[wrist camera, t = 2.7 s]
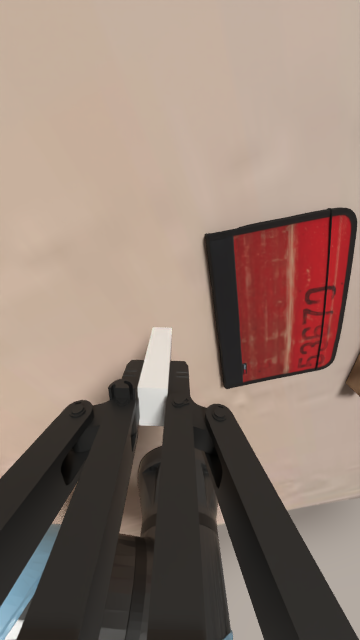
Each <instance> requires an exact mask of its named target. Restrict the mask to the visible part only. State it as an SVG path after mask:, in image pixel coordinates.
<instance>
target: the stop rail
mask: <svg viewBox="0 0 360 640" xmlns="http://www.w3.org/2000/svg"><path fill="white" fill-rule="evenodd" d="M346 384H347V385H348V386H349V387H350V388H351V389H352V390H353V391H355V392H356V393H357V394H358V395H359V396H360V354H359V356H358V358H357V360H356V362H355V364H354V366H353V369H352V371H351V373H350V375H349V377H348V379H347V381H346Z"/></svg>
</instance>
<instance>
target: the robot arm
mask: <svg viewBox="0 0 360 640" xmlns="http://www.w3.org/2000/svg"><path fill="white" fill-rule="evenodd" d="M171 344H172V328H161V327H153V329H152V333H151V337H150V341H149V344H148V348H147V352H146V356H145V360H131V361H130V362H129V363H128V364H127V366H126V369H125V371H124V374H123V377H122V379H119V380H116V381H114V382H113V383H111V384H110V386H109V387H108V389H109V397H110V400H109V401H107V402H105V403H102V404H98V405H94V406H92V404H91V403H90V402H89V401H87V400H80V401H76V402H74V403H72V404H70V405H69V406H67V407H66V408H65V409H64V410H63V411H62V413H61V414H60V415H59V416H58V417H57V418H56V419H55V420H54V421H53V422H52V423H51V424H50V426H49V427H48V428H47V429H46V430H45V431H44V432H43V433H42V434H41V435H40V436H39V437H38V438H37V440H36V441H35V442H34V443H33V444H32V445H31V446H30V447H29V448H28V449H27V450H26V451H25V453H24V454H23V455H22V456H21V457H20V458H19V459H18V460H17V461H16V462H15V463H14V464H13V466H12V467H11V468H10V469H9V470H8V471H7V472H6V473H5V474H4V475H3V476H2V477H1V479H0V640H233V633H232V630H231V628H230V621H229V613H228V606H227V598H226V590H225V583H224V575H223V568H222V561H221V553H220V547H219V539H218V532H217V523H216V516H217V507H218V503H219V506H220V509H221V512H222V515H223V518H224V521H225V524H226V526H227V530H228V533H229V536H230V539H231V541H232V545H233V548H234V551H235V553H236V557H237V560H238V562H239V566H240V569H241V572H242V575H243V578H244V580H245V584H246V587H247V589H248V593H249V595H250V599H251V601H252V604H253V608H254V611H255V613H256V617H257V619H258V623H259V626H260V628H261V631H262V634H263V638H264V640H359V639H358V637H357V636H356V633H355V632H354V630H353V629H352V627H351V625H350V623H349V621H348V619H347V617H346V616H345V614H344V612H343V610H342V608H341V607H340V605H339V603H338V601H337V600H336V598H335V596H334V594H333V592H332V591H331V589H330V587H329V585H328V583H327V582H326V580H325V578H324V576H323V574H322V573H321V571H320V569H319V567H318V566H317V564H316V562H315V560H314V559H313V557H312V555H311V553H310V551H309V550H308V548H307V546H306V544H305V542H304V541H303V539H302V537H301V535H300V534H299V532H298V530H297V528H296V526H295V524H294V523H293V521H292V519H291V517H290V515H289V514H288V512H287V510H286V508H285V507H284V505H283V503H282V501H281V499H280V498H279V496H278V494H277V492H276V490H275V489H274V487H273V485H272V483H271V482H270V480H269V478H268V476H267V474H266V473H265V471H264V469H263V467H262V465H261V464H260V462H259V460H258V458H257V456H256V455H255V453H254V451H253V449H252V448H251V446H250V444H249V442H248V440H247V439H246V437H245V435H244V433H243V431H242V430H241V428H240V426H239V424H238V423H237V421H236V419H235V417H234V415H233V414H232V412H231V411H230V410H229V408H227V407H226V406H224V405H221V404H213V405H210V406H209V407H208V408H205V407H202V406H200V405H197V404H196V403H194V401H193V400H192V399H191V397H190V387H189V370H188V365H187V364H186V362H185V361H171ZM138 424H139V425H142V426H164V431H163V444H162V447H159V448H156V449H154V450H152V451H151V452H149V453H148V454H147V455H146V456H145V457H144V458H143V459H142V461H141V463H140V467H139V474H138V488H139V496H140V504H141V513H142V528H141V537H137V536H132V535H126V534H120V533H119V531H120V526H121V521H122V515H123V510H124V505H125V500H126V495H127V489H128V484H129V479H130V474H131V469H132V464H133V458H134V453H135V448H136V443H137V438H138ZM78 480H79V481H78ZM77 482H78V483H77ZM76 483H77V486H76V488H75V491H74V493H73V496H72V499H71V501H70V504H69V506H68V509H67V511H66V514H65V516H64V519H63V522H62V524H61V525H60V524H52V522H53V521H54V519H55V517H56V516H57V514H58V513H59V511H60V509H61V508H62V506H63V504H64V503H65V501H66V500H67V498H68V496H69V495H70V493H71V491H72V490H73V488H74V486H75V485H76Z"/></svg>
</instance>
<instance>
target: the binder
mask: <svg viewBox="0 0 360 640" xmlns="http://www.w3.org/2000/svg"><path fill="white" fill-rule="evenodd" d="M356 231H357V218H356V215H355V213H354V212H353V211H352V210H351V209H348V208H332V209H331V208H328V209H326V210H321V211H315V212H309V213H304V214H300V215H295V216H291V217H286V218H281V219H275V220H270V221H265V222H259V223H255V224H250V225H246V226H242V227H239V228H237V229H232V230H227V231H222V232H216V233H211V234H210V233H209V234H205V239H206V247H207V254H208V263H209V272H210V279H211V286H212V293H213V302H214V310H215V318H216V326H217V333H218V339H219V348H220V357H221V365H222V372H223V383H224V387H225V388H226V389H230V388H233V387H238V386H243V385H248V384H252V383H257V382H262V381H266V380H271V379H276V378H282V377H287V376H292V375H297V374H302V373H306V372H312V371H317V370H321V369H324V368H326V367H328V366H329V365H330V364H332V362H333V361H334V359H335V356H336V352H337V347H338V343H339V339H340V334H341V329H342V324H343V318H344V312H345V306H346V300H347V294H348V287H349V281H350V275H351V268H352V261H353V254H354V247H355V239H356Z"/></svg>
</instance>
